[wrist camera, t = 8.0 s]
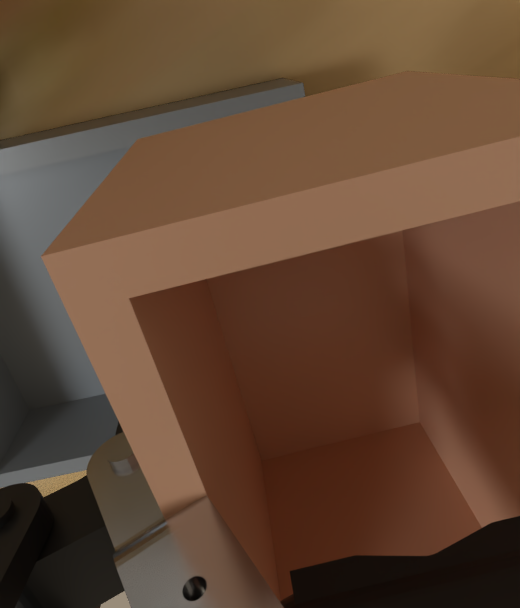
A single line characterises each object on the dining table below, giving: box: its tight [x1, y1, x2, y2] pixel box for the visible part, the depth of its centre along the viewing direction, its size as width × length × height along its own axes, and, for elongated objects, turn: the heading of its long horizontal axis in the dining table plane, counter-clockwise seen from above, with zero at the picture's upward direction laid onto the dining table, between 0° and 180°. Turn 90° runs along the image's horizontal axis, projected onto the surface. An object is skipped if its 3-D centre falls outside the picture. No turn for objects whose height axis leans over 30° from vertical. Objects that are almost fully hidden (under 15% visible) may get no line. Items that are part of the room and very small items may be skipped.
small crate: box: [41, 71, 520, 601], centre depth 10 cm, size 10×6×7 cm, turn 13°
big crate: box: [0, 78, 305, 488], centre depth 28 cm, size 18×22×7 cm
